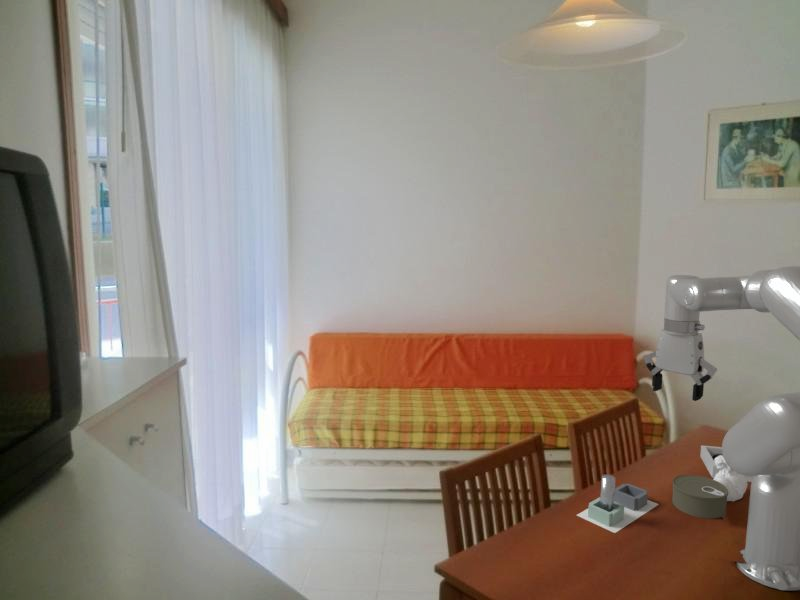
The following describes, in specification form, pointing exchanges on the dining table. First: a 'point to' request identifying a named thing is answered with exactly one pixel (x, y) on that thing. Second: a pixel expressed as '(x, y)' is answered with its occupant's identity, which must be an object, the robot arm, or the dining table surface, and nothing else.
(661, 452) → the dining table surface
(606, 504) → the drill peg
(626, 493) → the tool board
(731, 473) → the bust
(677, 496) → the can
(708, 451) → the controller tray
